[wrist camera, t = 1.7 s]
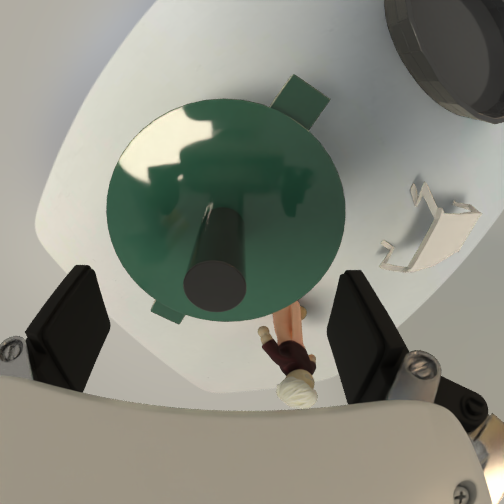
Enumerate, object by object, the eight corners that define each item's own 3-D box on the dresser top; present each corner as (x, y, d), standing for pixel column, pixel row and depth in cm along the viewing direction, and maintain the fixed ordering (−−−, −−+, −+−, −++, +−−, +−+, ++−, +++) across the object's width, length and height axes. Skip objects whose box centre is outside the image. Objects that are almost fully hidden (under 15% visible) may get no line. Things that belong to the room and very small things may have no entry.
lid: (89, 254, 17) (42, 318, 11) (178, 56, 12) (134, 27, 6) (259, 336, 21) (264, 411, 15) (382, 187, 16) (445, 236, 10)
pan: (350, 26, 17) (368, 15, 14) (421, -58, 10) (440, -68, 7) (472, 150, 22) (496, 160, 19) (519, 55, 15) (541, 57, 12)
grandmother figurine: (321, 307, 31) (351, 402, 20) (301, 329, 33) (321, 422, 22) (263, 280, 29) (275, 383, 18) (244, 305, 31) (247, 407, 20)
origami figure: (427, 153, 23) (457, 165, 19) (463, 203, 26) (490, 221, 21) (354, 241, 28) (372, 268, 23) (399, 279, 30) (418, 305, 26)
